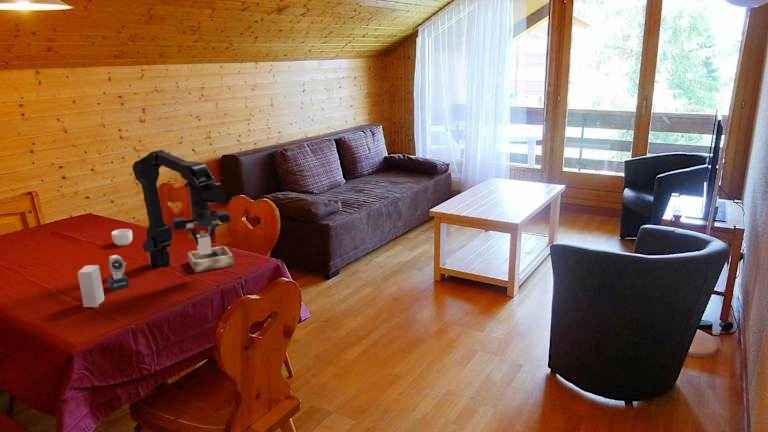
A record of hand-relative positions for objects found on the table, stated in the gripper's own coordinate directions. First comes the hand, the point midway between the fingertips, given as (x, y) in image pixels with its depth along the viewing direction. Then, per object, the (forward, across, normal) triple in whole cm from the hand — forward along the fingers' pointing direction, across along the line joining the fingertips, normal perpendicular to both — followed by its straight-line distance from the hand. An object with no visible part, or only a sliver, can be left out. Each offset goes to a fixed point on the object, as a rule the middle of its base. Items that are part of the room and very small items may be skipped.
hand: (203, 244), depth 195 cm
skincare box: (+12, -36, -5) cm, 38 cm away
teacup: (+12, -23, +55) cm, 61 cm away
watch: (+12, -28, +6) cm, 31 cm away
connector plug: (+3, 0, 0) cm, 3 cm away
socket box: (+12, +4, +12) cm, 18 cm away
